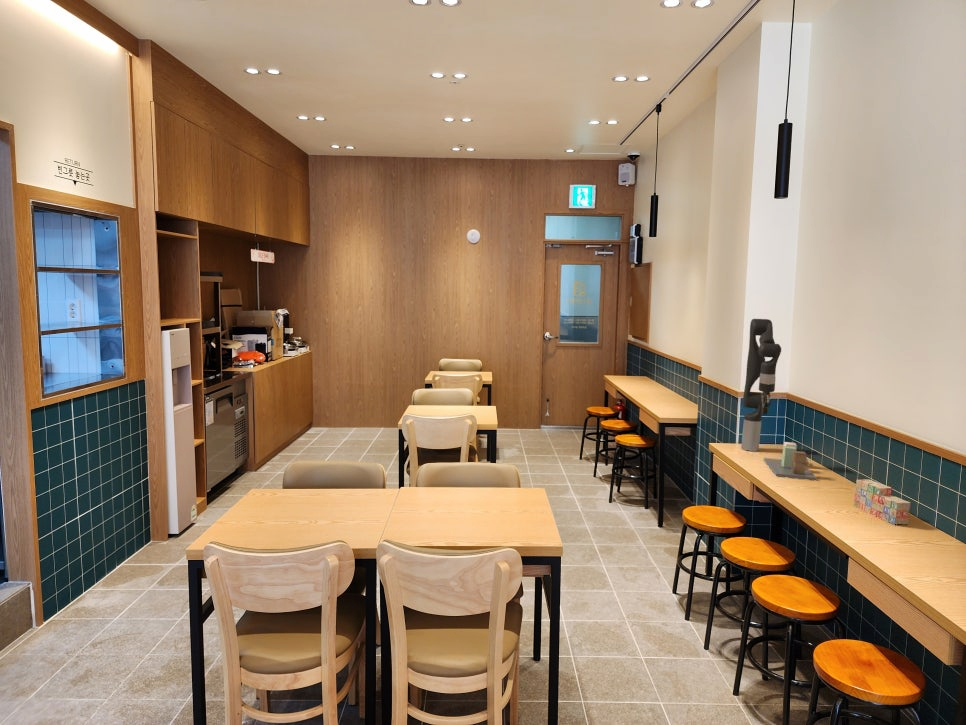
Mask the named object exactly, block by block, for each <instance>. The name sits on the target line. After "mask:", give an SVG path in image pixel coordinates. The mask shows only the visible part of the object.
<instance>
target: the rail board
mask: <svg viewBox="0 0 966 725" xmlns="http://www.w3.org/2000/svg"><path fill="white" fill-rule="evenodd" d="M764 461H765V462H766V463H765V462H764ZM763 462H764V463H765V464H766V465H768V466H769V467H768V466H767V467H768V468H769V469H770V471H771V470H772V471H771V472H772V473H773V475H774V474H775V475H776V476H778V478H785V477H788V478H787V479H795V478H798V479H797V480H804V479H811V480H810V481H814V480H816V481H817V476H815V475H814V473H813V472H811V471H810V470H809V468H808V467H806V468H805V474H796V473H793V472H792V471H791V469H792V468H785V467H783V466H782V465H781V464H782V459H779V458H778V459H777V458H769V457H768V458H767V457H764V458H763ZM775 475H774V476H775ZM776 476H775V477H776Z"/></svg>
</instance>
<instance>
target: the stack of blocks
mask: <svg viewBox="0 0 966 725" xmlns="http://www.w3.org/2000/svg"><path fill="white" fill-rule="evenodd" d="M892 494H893V487H891V486H888V485H885V484H884V483H883V484H882V483H879V482H877V481H874V480H872V479H867V478H866V479H856V482H855V490H854V503H853V508H855V507H856V508H855V509H857V508H859V509H861V510H863V511H865V512H864V513H866V512H867V513H866V514H868V513H869V514H868V515H870V514H872V515H871V516H873V515H875V516H876V517H875V516H874V517H875V518H877V517H879V518H881V519H880V520H882V519H883V520H882V521H884V520H885V521H884V522H886V521H887V523H889V522H890V523H889V524H891V523H892V524H891V525H893V524H896V525H895V526H898V525H897V524H907V525H908V522H909V515H910V510H911V501H907V500H904V499H902V498H900V497H897V496H894V495H892ZM859 509H858V510H859ZM861 510H860V511H861ZM863 511H862V512H863ZM879 518H878V519H879Z"/></svg>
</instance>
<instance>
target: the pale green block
mask: <svg viewBox="0 0 966 725" xmlns="http://www.w3.org/2000/svg"><path fill="white" fill-rule="evenodd" d="M793 451H797V448H795V447H791V446H784V445H783V446H782V455H781V460H782V464H781V465H782V466H783V467H785V468H792V459H793Z"/></svg>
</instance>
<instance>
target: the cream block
mask: <svg viewBox="0 0 966 725" xmlns="http://www.w3.org/2000/svg"><path fill="white" fill-rule="evenodd" d="M783 446H791V447H795V448H796V449H797V446H798V445H797V444H796V442H788V441H783Z"/></svg>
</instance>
